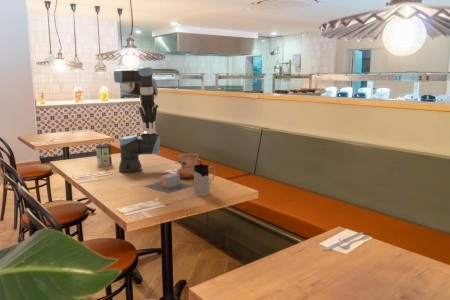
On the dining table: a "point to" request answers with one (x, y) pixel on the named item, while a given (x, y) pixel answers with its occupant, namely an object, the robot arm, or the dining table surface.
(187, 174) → the ceramic jug
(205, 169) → the tall grey mug
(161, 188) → the mat
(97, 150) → the coffee can
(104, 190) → the dining table surface
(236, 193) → the dining table surface
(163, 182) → the block
